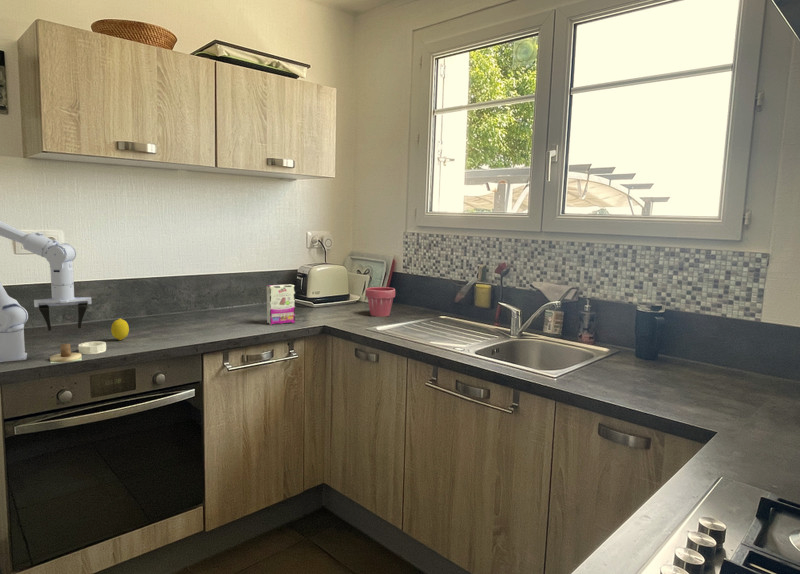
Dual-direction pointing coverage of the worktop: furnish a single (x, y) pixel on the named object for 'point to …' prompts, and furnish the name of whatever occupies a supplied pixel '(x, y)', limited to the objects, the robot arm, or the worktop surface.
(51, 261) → the robot arm
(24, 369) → the worktop surface
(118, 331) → the lemon
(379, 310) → the plant pot
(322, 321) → the worktop surface
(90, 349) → the bowl
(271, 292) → the candy bar box
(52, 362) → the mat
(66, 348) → the lid
